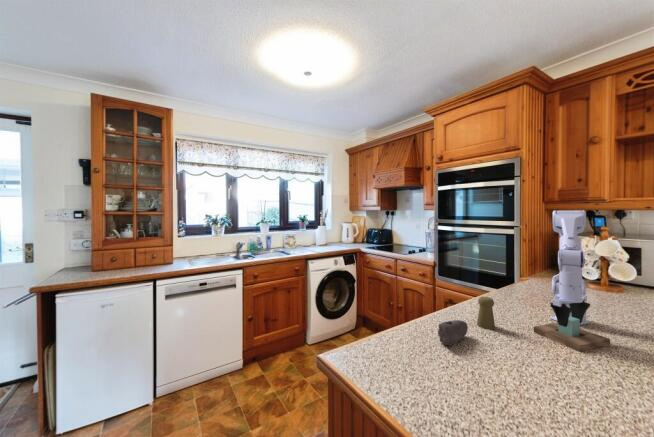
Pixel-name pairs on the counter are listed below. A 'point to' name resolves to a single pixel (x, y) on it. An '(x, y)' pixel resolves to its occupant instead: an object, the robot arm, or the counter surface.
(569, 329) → the teal peg
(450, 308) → the counter surface
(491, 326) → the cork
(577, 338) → the walnut socket block
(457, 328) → the perforated stone tool
